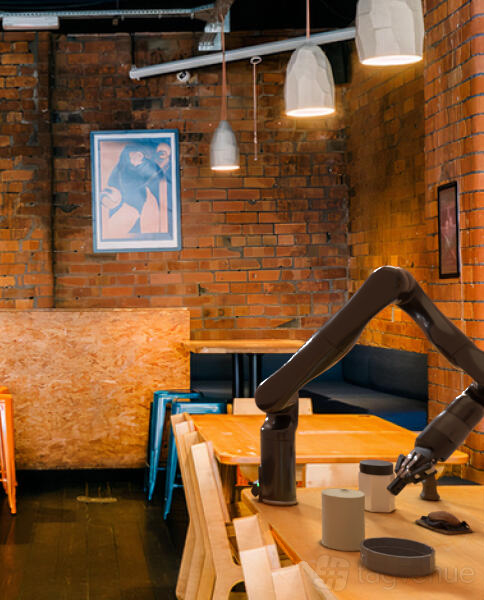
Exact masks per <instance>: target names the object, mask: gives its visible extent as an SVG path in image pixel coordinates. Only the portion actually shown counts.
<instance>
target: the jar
mask: <svg viewBox="0 0 484 600" xmlns="http://www.w3.org/2000/svg"><path fill="white" fill-rule="evenodd" d="M358 466H359V471H358V473H357V477H358V478H357V479H358V481H357V482H358V483H357V484H358V487H357V488H358V489H357V491H360V492H363V493H364V494H365V511H367V512H370V513H391V512H393V511H395V510H396V496H395V495H393V494H391V493H390V492H389V491H388V490H387V487H388V485H389V484H390V483H391V482H392V481H393V480H394V479H395V478H396V473H395V472H394V463H393V462H392V461H387V460H382V459H363V460H360V461H359V465H358Z"/></svg>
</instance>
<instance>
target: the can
mask: <svg viewBox="0 0 484 600" xmlns="http://www.w3.org/2000/svg"><path fill="white" fill-rule="evenodd" d="M320 495H321V541H320V542H321V545H323V546H324V547H325V548H328V549H332V550H337V551H342V552H360V542H361V541H362V540H364V539H366V510H365V494H364V493H363V492H360V491H358V489H357V490H356V489H351V488H343V487H342V488H340V487H333V488H332V487H329V488H325V489H324V488H323V489H322V490H321V491H320Z"/></svg>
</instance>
